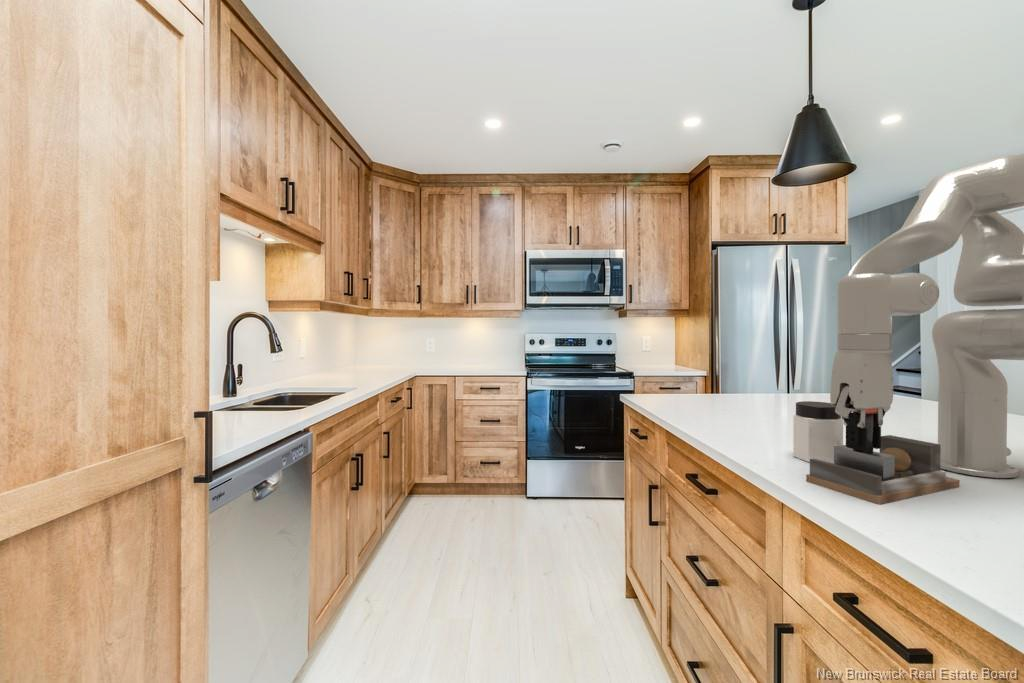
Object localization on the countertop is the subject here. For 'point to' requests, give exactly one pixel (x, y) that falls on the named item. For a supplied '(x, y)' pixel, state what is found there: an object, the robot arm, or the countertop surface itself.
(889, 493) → the press base
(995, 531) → the countertop surface
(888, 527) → the countertop surface
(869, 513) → the countertop surface
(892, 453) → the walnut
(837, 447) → the handle
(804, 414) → the jar
